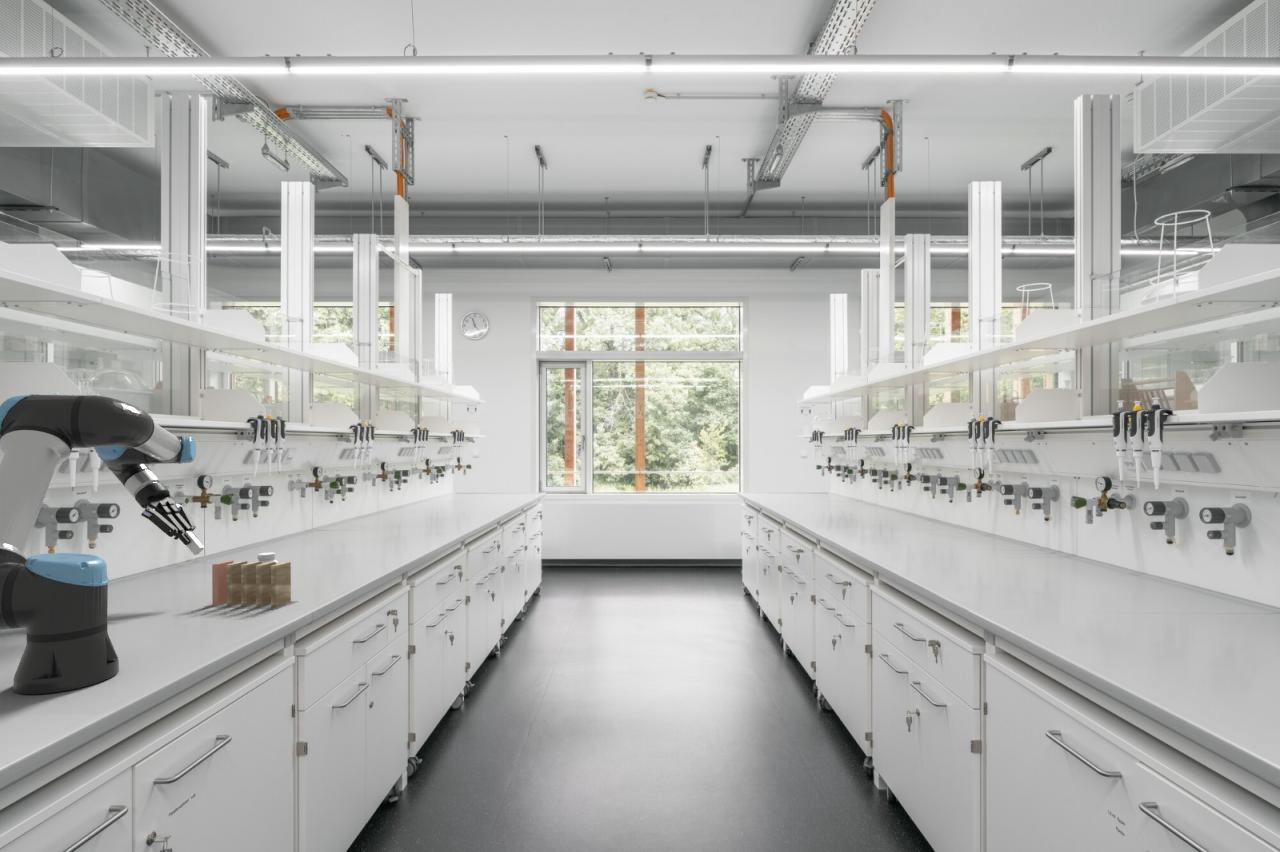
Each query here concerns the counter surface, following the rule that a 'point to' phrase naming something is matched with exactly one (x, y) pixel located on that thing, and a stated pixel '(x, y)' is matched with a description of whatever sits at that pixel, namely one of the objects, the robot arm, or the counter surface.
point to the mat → (249, 606)
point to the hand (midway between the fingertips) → (199, 551)
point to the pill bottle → (267, 557)
